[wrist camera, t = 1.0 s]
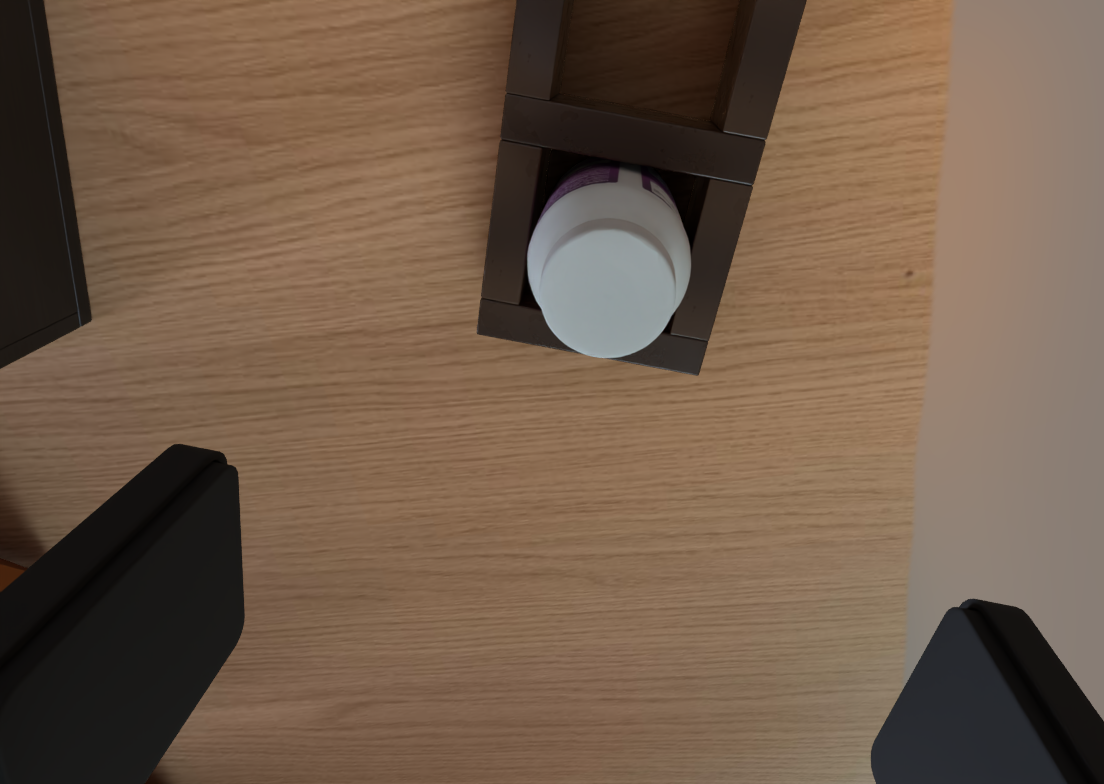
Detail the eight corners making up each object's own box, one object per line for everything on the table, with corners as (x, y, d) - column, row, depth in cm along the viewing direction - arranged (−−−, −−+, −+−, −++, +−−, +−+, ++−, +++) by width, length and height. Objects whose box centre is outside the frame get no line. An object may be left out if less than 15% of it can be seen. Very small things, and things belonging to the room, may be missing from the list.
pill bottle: (539, 272, 30) (504, 365, 21) (555, 143, 28) (522, 189, 19) (664, 291, 30) (678, 392, 21) (690, 163, 27) (719, 218, 19)
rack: (552, -148, 23) (538, -182, 20) (811, -102, 23) (844, -128, 20) (493, 300, 31) (476, 334, 27) (690, 337, 31) (698, 376, 27)
